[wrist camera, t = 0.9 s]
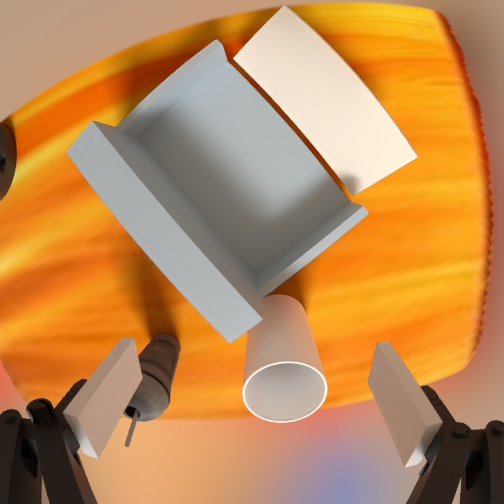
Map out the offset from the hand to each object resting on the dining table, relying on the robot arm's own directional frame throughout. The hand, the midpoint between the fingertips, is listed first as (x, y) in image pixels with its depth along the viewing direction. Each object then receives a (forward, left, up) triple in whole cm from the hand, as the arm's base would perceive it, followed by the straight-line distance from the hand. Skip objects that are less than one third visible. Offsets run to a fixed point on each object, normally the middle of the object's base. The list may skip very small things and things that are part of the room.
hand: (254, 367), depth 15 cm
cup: (+9, -4, -25) cm, 27 cm away
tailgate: (-10, +13, -21) cm, 26 cm away
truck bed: (-10, +4, -25) cm, 27 cm away
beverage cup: (+2, -20, -25) cm, 33 cm away
